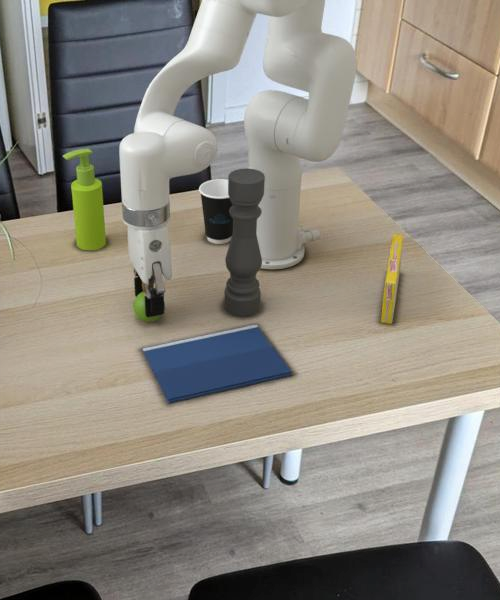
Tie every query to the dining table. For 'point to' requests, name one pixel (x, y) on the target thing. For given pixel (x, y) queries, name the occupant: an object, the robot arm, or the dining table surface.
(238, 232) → the candle holder
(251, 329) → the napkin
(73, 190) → the soap dispenser
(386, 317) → the candy box
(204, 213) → the dixie cup
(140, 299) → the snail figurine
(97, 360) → the dining table surface
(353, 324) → the dining table surface
